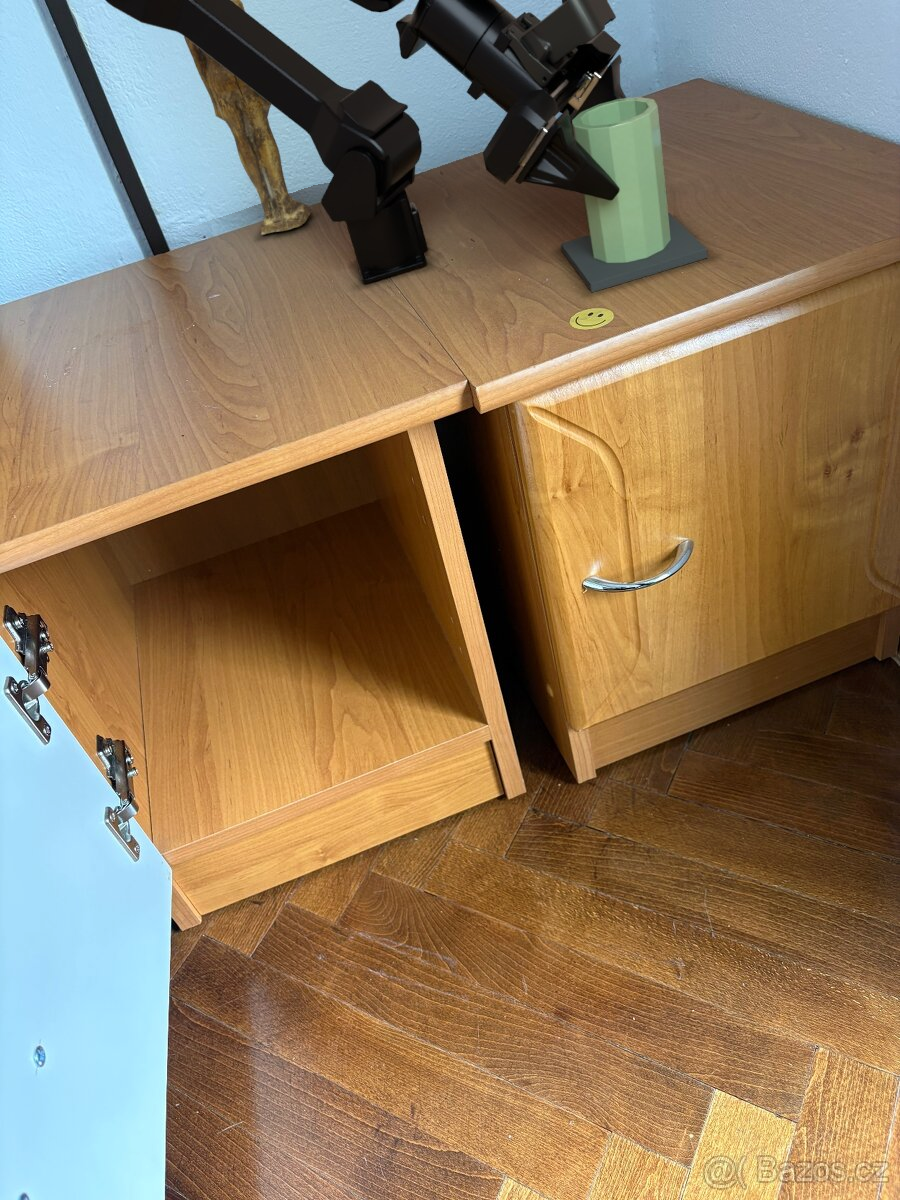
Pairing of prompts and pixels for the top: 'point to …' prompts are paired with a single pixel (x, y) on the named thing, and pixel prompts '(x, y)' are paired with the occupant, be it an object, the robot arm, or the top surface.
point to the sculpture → (251, 140)
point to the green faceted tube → (626, 179)
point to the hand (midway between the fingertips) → (634, 172)
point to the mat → (610, 274)
